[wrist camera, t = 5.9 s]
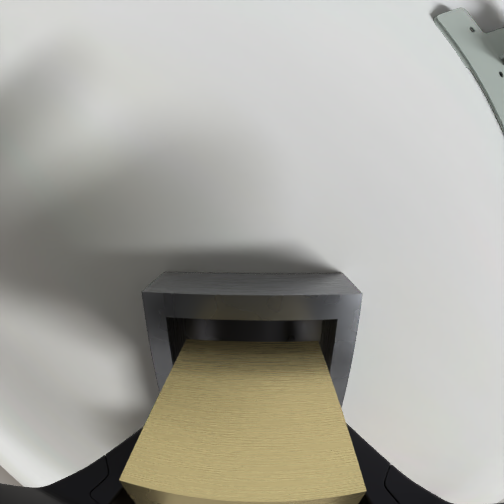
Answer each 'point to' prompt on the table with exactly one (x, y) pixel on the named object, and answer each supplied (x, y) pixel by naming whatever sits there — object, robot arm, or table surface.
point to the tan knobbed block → (245, 430)
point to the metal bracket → (478, 54)
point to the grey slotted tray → (253, 314)
